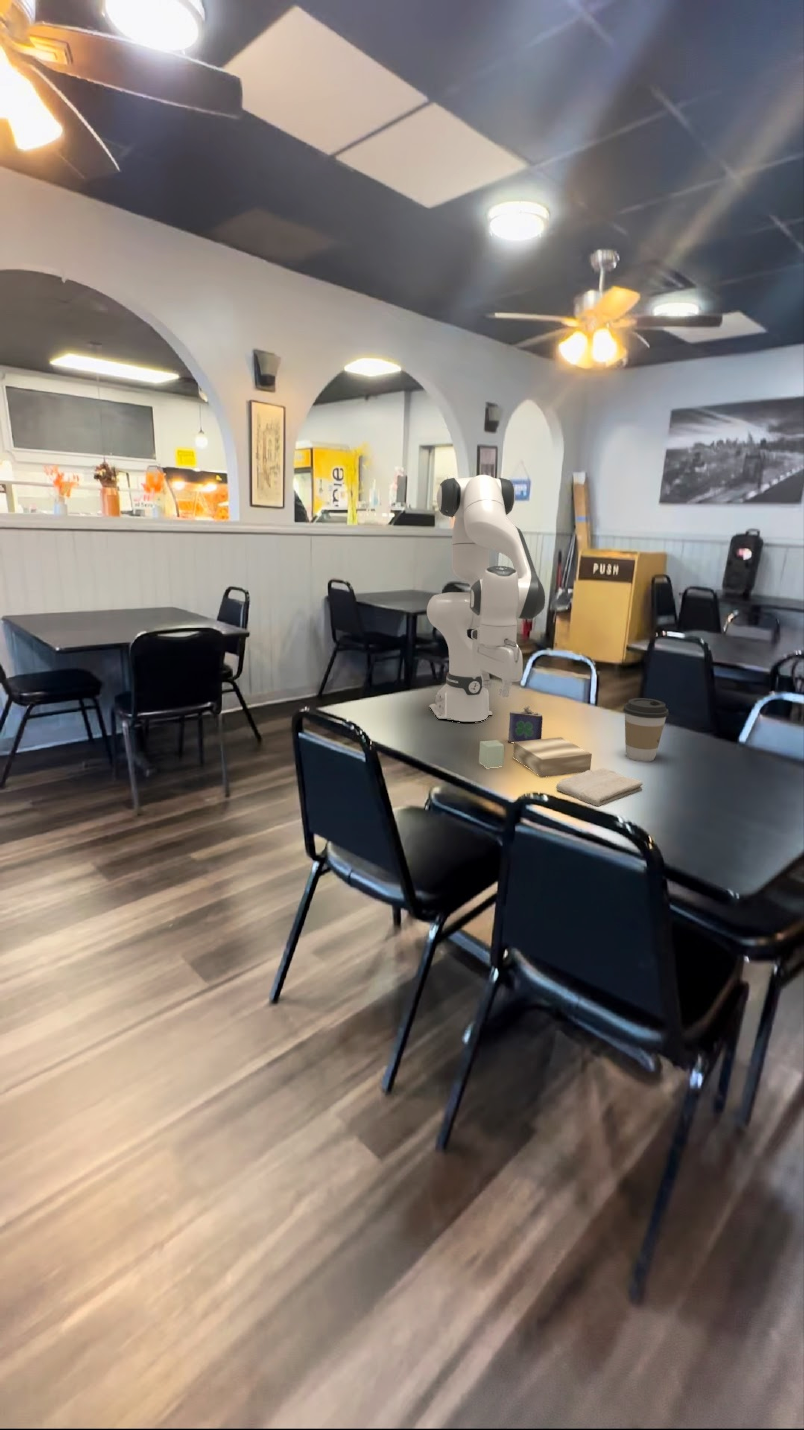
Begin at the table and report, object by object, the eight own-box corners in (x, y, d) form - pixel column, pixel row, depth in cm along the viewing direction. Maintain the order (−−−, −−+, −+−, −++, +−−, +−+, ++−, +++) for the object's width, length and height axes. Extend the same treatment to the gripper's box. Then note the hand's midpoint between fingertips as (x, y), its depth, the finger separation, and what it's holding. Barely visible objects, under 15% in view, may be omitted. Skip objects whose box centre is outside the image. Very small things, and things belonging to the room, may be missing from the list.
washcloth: (644, 791, 156) (646, 778, 155) (598, 810, 145) (599, 796, 144) (601, 775, 165) (602, 764, 164) (554, 792, 154) (555, 780, 153)
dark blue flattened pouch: (507, 742, 187) (509, 706, 184) (509, 740, 190) (512, 703, 187) (539, 747, 184) (542, 710, 181) (542, 744, 186) (545, 707, 183)
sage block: (478, 763, 171) (479, 741, 169) (494, 761, 172) (495, 739, 171) (486, 769, 167) (487, 747, 165) (502, 767, 168) (504, 745, 166)
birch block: (513, 760, 175) (514, 741, 173) (559, 754, 179) (560, 737, 178) (540, 778, 162) (542, 759, 161) (590, 772, 167) (591, 753, 165)
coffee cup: (666, 766, 171) (673, 709, 167) (620, 762, 173) (626, 706, 169) (659, 752, 181) (666, 698, 177) (615, 748, 184) (621, 695, 179)
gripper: (531, 642, 152) (527, 701, 156) (490, 629, 170) (488, 682, 174) (506, 643, 150) (503, 703, 154) (468, 630, 168) (466, 683, 172)
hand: (494, 691), depth 164 cm, fingers open, 8 cm apart
